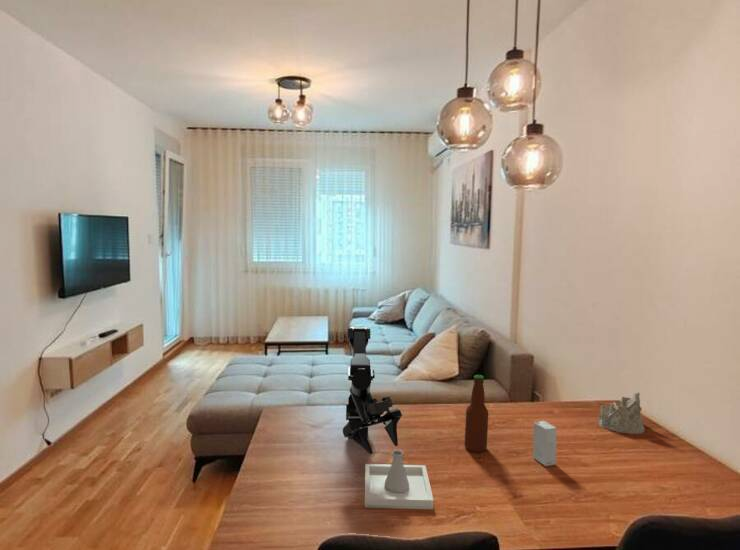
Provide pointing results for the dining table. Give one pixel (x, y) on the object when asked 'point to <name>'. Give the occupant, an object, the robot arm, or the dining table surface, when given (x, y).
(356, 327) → the robot arm
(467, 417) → the bottle
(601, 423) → the grey rock
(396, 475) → the flask
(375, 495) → the tray
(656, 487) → the dining table surface
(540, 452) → the skincare box
